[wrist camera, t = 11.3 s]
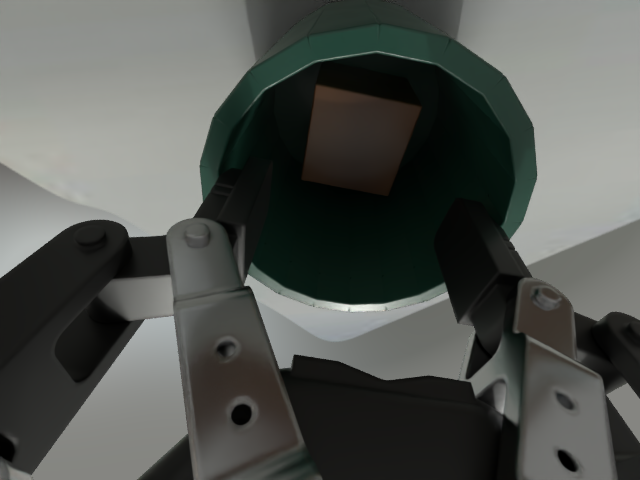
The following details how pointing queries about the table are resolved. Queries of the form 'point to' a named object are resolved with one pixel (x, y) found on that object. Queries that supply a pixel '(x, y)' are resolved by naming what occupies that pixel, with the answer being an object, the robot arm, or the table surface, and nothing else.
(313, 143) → the block
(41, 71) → the table surface
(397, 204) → the tin
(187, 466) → the robot arm
